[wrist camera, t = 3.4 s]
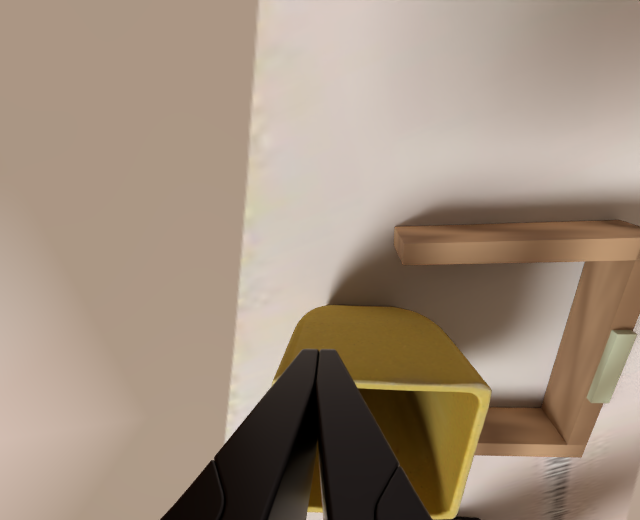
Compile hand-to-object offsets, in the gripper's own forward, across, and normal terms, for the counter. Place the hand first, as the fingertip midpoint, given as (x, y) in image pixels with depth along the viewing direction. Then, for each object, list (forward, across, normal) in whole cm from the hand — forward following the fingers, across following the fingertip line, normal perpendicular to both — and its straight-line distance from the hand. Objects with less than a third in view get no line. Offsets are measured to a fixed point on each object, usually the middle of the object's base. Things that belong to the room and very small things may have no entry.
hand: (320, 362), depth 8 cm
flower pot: (+12, -2, +8) cm, 15 cm away
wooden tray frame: (+12, -11, +8) cm, 18 cm away
